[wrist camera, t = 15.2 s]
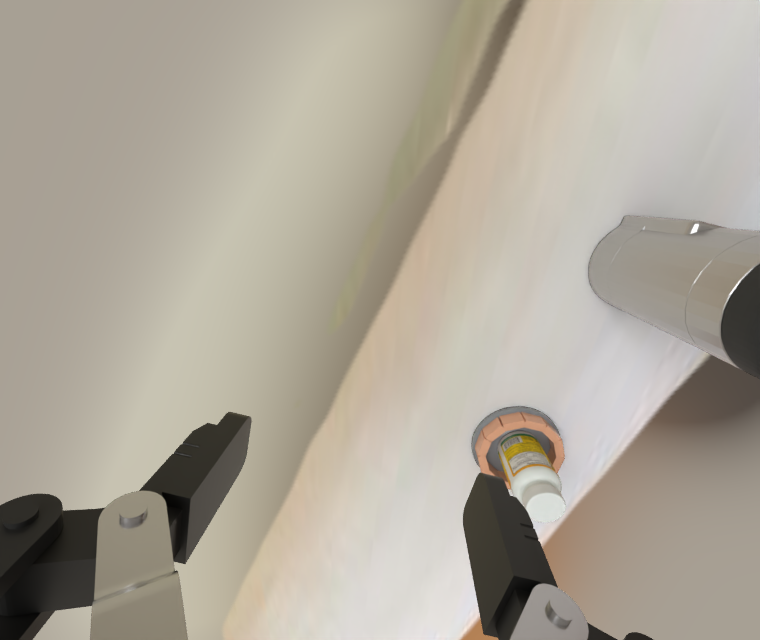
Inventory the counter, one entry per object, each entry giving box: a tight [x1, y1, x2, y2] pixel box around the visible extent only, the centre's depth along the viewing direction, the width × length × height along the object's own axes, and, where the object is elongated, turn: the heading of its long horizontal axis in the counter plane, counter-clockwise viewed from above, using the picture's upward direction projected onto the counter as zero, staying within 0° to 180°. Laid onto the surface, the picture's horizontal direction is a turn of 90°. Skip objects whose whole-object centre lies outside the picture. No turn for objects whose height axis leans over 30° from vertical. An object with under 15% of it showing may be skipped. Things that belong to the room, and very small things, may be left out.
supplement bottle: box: [497, 431, 566, 523], centre depth 41 cm, size 5×5×10 cm
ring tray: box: [472, 406, 565, 490], centre depth 45 cm, size 11×11×3 cm
